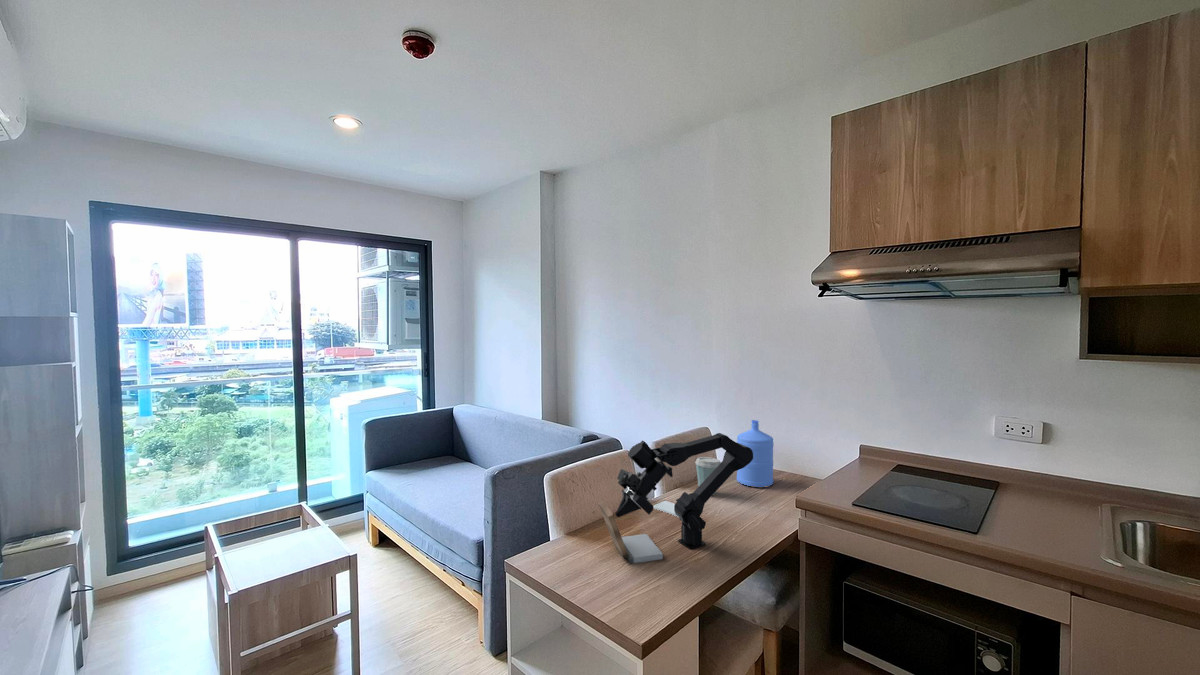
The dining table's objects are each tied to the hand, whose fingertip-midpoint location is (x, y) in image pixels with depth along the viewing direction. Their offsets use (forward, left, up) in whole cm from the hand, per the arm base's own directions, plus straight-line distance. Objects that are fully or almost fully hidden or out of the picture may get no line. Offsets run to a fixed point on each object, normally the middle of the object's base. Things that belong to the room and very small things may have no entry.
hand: (616, 516), depth 143 cm
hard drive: (+19, -37, -12) cm, 43 cm away
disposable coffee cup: (+24, -61, -12) cm, 66 cm away
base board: (-2, -7, -12) cm, 14 cm away
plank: (+1, +2, -4) cm, 4 cm away
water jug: (+24, -89, -12) cm, 93 cm away
